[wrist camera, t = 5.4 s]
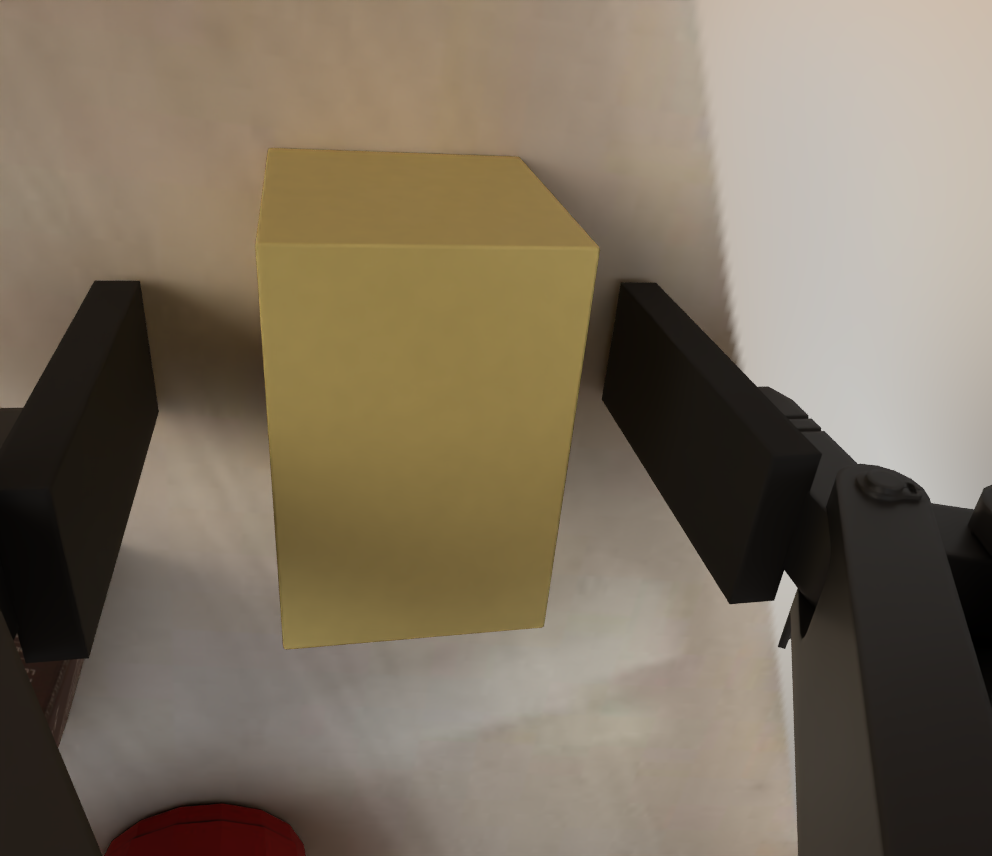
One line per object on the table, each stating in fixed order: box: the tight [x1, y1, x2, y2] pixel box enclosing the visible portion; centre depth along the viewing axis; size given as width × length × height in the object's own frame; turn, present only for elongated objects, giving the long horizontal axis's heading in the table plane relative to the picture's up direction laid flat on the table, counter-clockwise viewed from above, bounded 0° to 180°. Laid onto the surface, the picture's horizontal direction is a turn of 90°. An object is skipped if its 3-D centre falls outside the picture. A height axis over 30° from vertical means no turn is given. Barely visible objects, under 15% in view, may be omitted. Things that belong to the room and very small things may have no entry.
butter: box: [255, 148, 600, 650], centre depth 15 cm, size 7×4×5 cm, turn 175°
